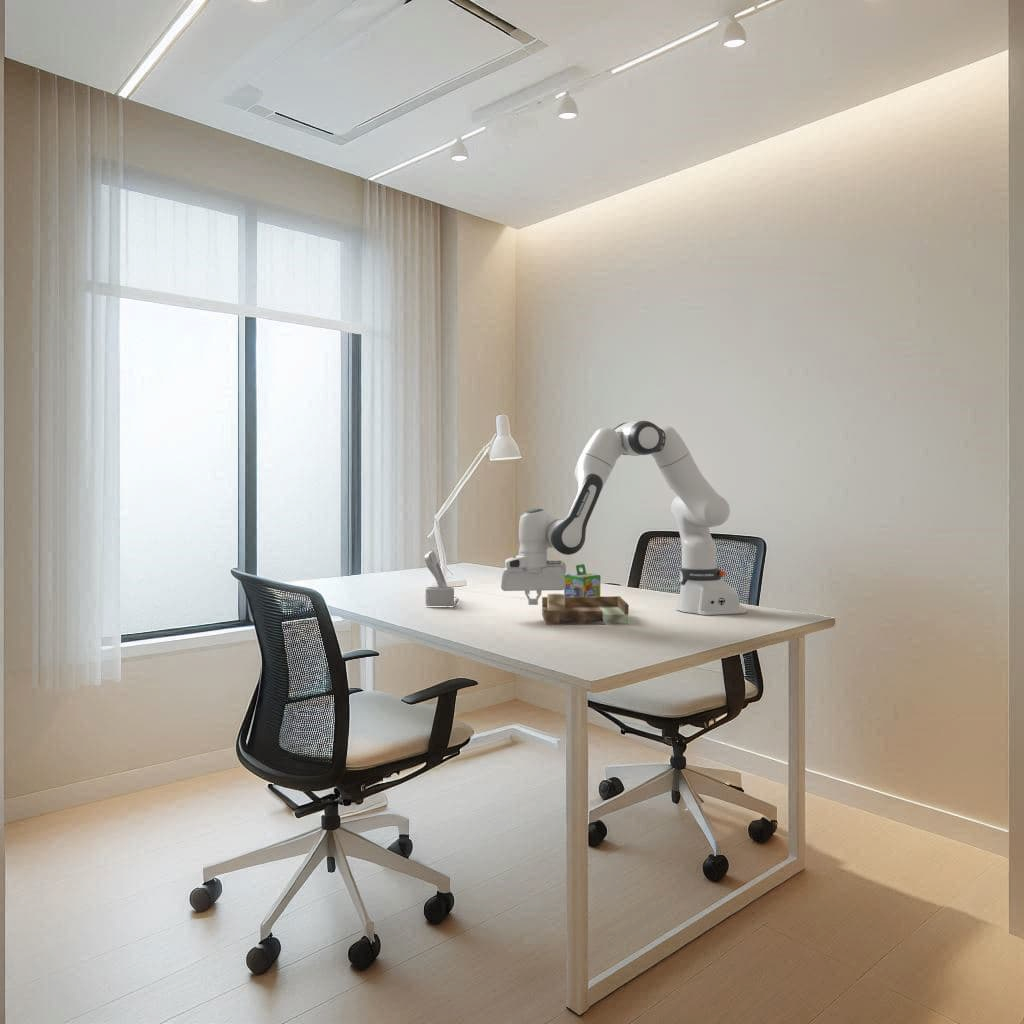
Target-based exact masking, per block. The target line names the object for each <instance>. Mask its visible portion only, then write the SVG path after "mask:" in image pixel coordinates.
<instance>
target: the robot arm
mask: <svg viewBox="0 0 1024 1024" xmlns="http://www.w3.org/2000/svg"><path fill="white" fill-rule="evenodd" d="M622 455H623V456H631V457H633V456H635V457H638V456H647V455H651V456H652V458H653V459H654V461H655V463H656V465H657V467H658V469H659V471H660V473H661V475H662V477H663V479H664V481H665V483H666V484H667V487H668V488H669V489H670V491H673V492H674V493H675V494H676V496H675V497H674V499H673V500H672V501H671V506H670V512H671V514H672V517H673V518H674V520H675V521H676V522H675V523H676V525H677V529H678V533H679V536H680V544H681V566H680V570H679V583H680V589H679V596H678V600H677V605H676V608H675V609H676V610H677V611H680V612H684V613H689V614H697V615H702V616H712V615H713V616H714V615H715V616H717V615H734V614H735V615H736V614H737V615H738V614H746V613H747V608H746V607H745V606H743V605H741V604H740V598H739V593H738V592H737V591H736V589H734V588H732V586H730V585H729V584H728V583H727V582H725V581H724V580H723V579H722V578H723V577H724V578H725V577H726V576H727V572H726V570H724V569H721V570H720V569H719V568H718V567H717V544H716V542H715V540H714V539H713V537H712V534H711V532H710V528H713V527H714V528H715V527H719V526H721V525H722V526H723V524H725V523H726V522H727V521H728V519H729V516H730V512H731V507H730V504H729V503H728V500H726V498H723V497H722V496H721V495H720V494H719V493H718V492H717V491H716V490H715V489H714V488H713V487H712V485H711V484H710V483H709V482H708V480H707V479H706V478H705V477H704V475H703V474H702V473H701V470H700V468H699V467H698V465H697V464H696V461H695V459H694V458H693V456H692V454H691V452H690V450H689V448H688V446H687V445H686V443H685V442H684V439H683V438H682V437H681V436H680V434H679V432H678V431H677V430H676V429H675V428H674V427H672V426H667V425H666V426H660V427H659V426H657V425H656V424H654V422H651V421H649V420H632V421H628V422H623V423H621V424H619V425H617V426H616V427H614V428H613V429H612V428H610V427H601V428H598V429H597V430H596V431H595V432H594V433H593V434H592V436H591V437H590V439H589V440H588V441H587V443H586V444H585V446H584V447H583V450H582V452H581V454H580V456H579V458H578V460H577V462H576V464H575V469H574V477H575V479H576V483H577V492H576V496H575V499H574V500H573V503H572V505H571V508H570V510H569V512H568V514H567V515H566V517H565V519H563V518H560V517H558V516H555V515H553V514H551V513H549V512H548V511H546V510H545V509H543V508H532V509H529V510H526V511H523V513H522V514H521V515H520V517H519V524H518V525H519V526H518V540H519V549H518V554H517V555H515V556H514V555H513V556H512V557H509V558H506V559H505V560H504V566H505V567H504V568H503V569H502V573H501V579H500V589H501V590H502V591H504V592H515V591H516V592H523V591H524V594H525V596H526V598H527V601H528V602H527V603H528V605H529V606H533V605H534V606H538V605H539V599H540V597H541V596H542V591H564V588H565V577H564V575H566V573H567V564H566V563H565V562H563V561H562V560H548V549H550V548H551V549H552V548H553V549H554V550H556V551H557V552H559V554H562V555H565V556H570V555H571V556H572V555H574V554H576V553H578V552H579V551H581V549H582V548H583V546H584V545H585V542H586V533H587V526H588V523H589V521H590V518H591V515H592V514H593V511H594V510H595V506H596V504H597V503H598V502H597V501H598V499H599V497H600V494H601V492H602V490H603V488H604V485H605V484H606V483H607V480H608V479H609V477H610V475H611V473H612V471H613V469H614V467H615V465H616V462H617V460H618V459H619V458H620V457H621V456H622ZM531 591H536V595H535V596H536V597H535V598H531V597H530V595H531V594H530V593H531Z"/></svg>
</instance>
